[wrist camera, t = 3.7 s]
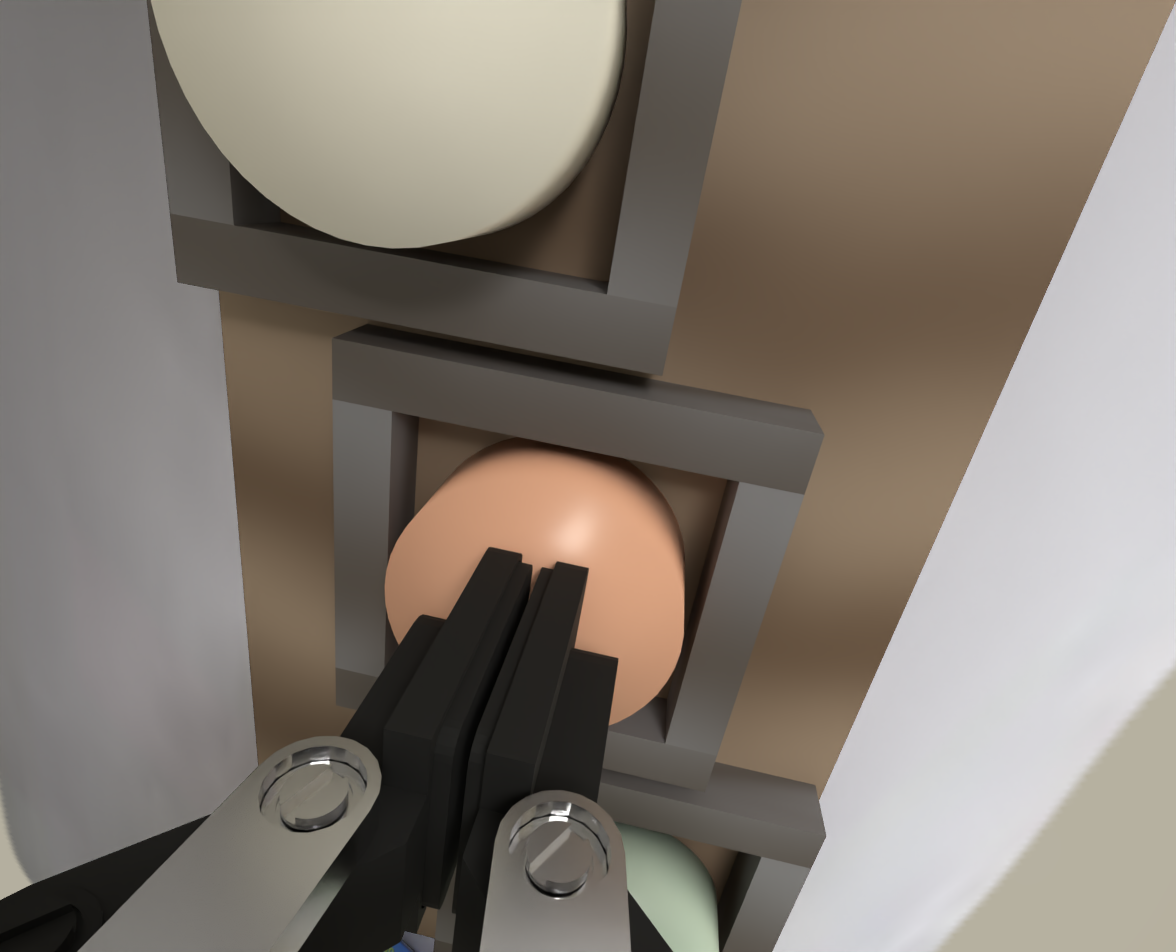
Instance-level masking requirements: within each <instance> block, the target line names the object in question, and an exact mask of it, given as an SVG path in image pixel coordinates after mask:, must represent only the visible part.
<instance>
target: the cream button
mask: <svg viewBox="0 0 1176 952" xmlns="http://www.w3.org/2000/svg"><path fill="white" fill-rule="evenodd" d="M151 4H152V8H153V11H154V15H155V19H156V23H157V27H158V31H159V34H160V37H161V39H162V42H163V45H164V48H165V51H166V53H167V56H168V59H169V62H170V65H171V67H172V69H173V71H174V73H175V75H176V78H177V80H178V82H179V84H180V86H181V88H182V90H183V93H184V95H185V97H186V99H187V100H188V102H189V104H190V105H191V107H192V109H193V111H194V112H195V114H196V116H197V117H198V119H199V121H200V123H201V124H202V126H203V127H204V129H205V130H206V132H207V133H208V134H209V136H210V137H211V138H212V140H213V141H214V143H215V144H216V145H217V147H218V148H219V149H220V151H221V152H222V154H223V155H224V156H225V157H226V158H227V159H228V160H229V161H230V162H231V164H232V165H233V166H234V167H235V168H236V169H237V170H238V171H239V173H240V174H241V175H242V176H243V177H244V178H245V179H246V180H247V181H248V182H250V183H251V184H252V185H253V186H254V187H255V188H256V189H257V190H258V191H259V192H261V193H262V194H263V195H264V196H265V197H266V198H267V199H269V200H270V201H272V202H273V203H274V204H276V205H277V206H279V207H280V208H281V209H283V210H284V211H285V212H287V213H288V214H290V215H291V216H293V217H295V218H297V219H298V220H300V221H302V222H304V223H306V224H307V225H309V226H311V227H313V228H315V229H317V230H320V231H322V232H325V233H327V234H330V235H332V236H334V237H337V238H339V239H343V240H347V241H351V242H355V243H358V244H362V245H366V246H375V247H384V248H419V247H424V246H430V245H435V244H441V243H446V242H451V241H456V240H461V239H466V238H471V237H476V236H481V235H486V234H491V233H494V232H497V231H500V230H503V229H506V228H509V227H512V226H514V225H516V224H518V223H520V222H522V221H524V220H526V219H528V218H530V217H532V216H533V215H535V214H536V213H538V212H539V211H540V210H542V209H543V208H545V207H546V206H547V205H549V204H550V203H552V202H553V201H554V200H555V199H556V198H557V197H558V196H559V195H560V194H561V193H562V192H563V191H564V190H565V189H566V188H568V187H569V185H570V184H571V183H572V182H573V180H574V179H575V178H576V177H577V176H578V174H579V173H580V172H581V171H582V169H583V168H584V167H585V165H586V164H587V162H588V160H589V159H590V157H591V156H592V154H593V152H594V151H595V149H596V148H597V146H598V144H599V142H600V140H601V138H602V136H603V133H604V131H605V129H606V127H607V125H608V123H609V120H610V117H611V114H612V111H613V108H614V105H615V102H616V99H617V96H618V93H619V88H620V83H621V78H622V74H623V69H624V63H625V52H626V42H627V2H626V0H151Z"/></svg>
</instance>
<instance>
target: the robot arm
mask: <svg viewBox="0 0 1176 952" xmlns="http://www.w3.org/2000/svg"><path fill="white" fill-rule="evenodd" d="M532 571H533V565H531V564H527V563H522V553H517V552H513V551H508V550H503V549H499V548H494V547H488V549H487V550H486V552H485V554H484V555H483V557H482V559H481V560H480V562H479V564H478V566H477V567H476V569H475V571H474V573H473V574H472V576H471V578H470V580H469V581H468V583H467V585H466V586H465V588H464V590H463V592H462V593H461V595H460V597H459V599H458V600H457V602H456V604H455V606H454V607H453V609H452V611H451V613H450V614H449V616H448V618H447V619H442V618H438V617H433V616H429V615H424V614H422V615H420V616H419V617H418V618H417V619H416V620H415V622H414V623H413V624H412V626H411V628H410V629H409V631H408V632H407V634H406V635H405V637H404V638H403V640H402V641H401V643H400V644H399V646H398V648H397V649H396V651H395V652H394V654H393V655H392V657H391V658H390V660H389V661H388V663H387V665H386V666H385V668H384V669H383V671H382V672H381V674H380V675H379V677H378V678H377V680H376V681H375V683H374V685H373V686H372V688H371V689H370V691H369V692H368V694H367V695H366V697H365V698H364V700H363V701H362V703H361V705H360V706H359V708H358V709H357V711H356V712H355V714H354V715H353V717H352V718H351V720H350V721H349V723H348V725H347V726H346V728H345V729H344V731H343V732H342V734H341V735H340V737H338V736H316V737H312V738H308V739H304V740H300V741H296V742H294V743H292V744H290V745H288V746H286V747H284V748H282V749H280V750H278V751H276V752H275V753H274V754H272V755H271V756H270V757H269V758H268V759H266V760H265V761H264V762H263V763H261V764H260V765H259V766H258V767H257V768H256V769H255V770H254V771H253V772H252V773H251V774H250V775H249V776H248V777H247V778H246V779H245V781H244V782H243V783H242V784H241V785H240V786H239V787H238V788H237V789H236V790H235V791H234V792H233V793H232V794H231V795H230V796H229V797H228V798H227V799H226V800H225V801H224V802H223V803H222V804H221V805H220V806H219V807H218V808H217V809H216V810H215V811H214V812H213V813H212V814H210V815H208V816H205V817H203V818H200V819H197V820H195V821H192V822H190V823H187V824H185V825H182V826H180V827H177V828H175V829H172V830H169V831H167V832H164V833H162V834H159V835H157V836H154V837H152V838H149V839H147V840H144V841H141V842H139V843H136V844H134V845H131V846H129V847H126V848H124V849H121V850H119V851H116V852H113V853H111V854H108V855H106V856H103V857H101V858H98V859H96V860H93V861H91V862H88V863H85V864H83V865H80V866H78V867H75V868H73V869H70V870H68V871H65V872H63V873H60V874H57V875H55V876H52V877H50V878H47V879H45V880H42V881H40V882H37V883H35V884H32V885H30V886H28V887H26V888H24V889H22V890H20V891H18V892H16V893H14V894H12V895H10V896H8V897H6V898H4V899H2V900H0V952H384V951H386V950H388V949H389V948H391V947H393V946H394V945H396V944H398V943H400V942H401V939H402V937H403V934H404V932H405V931H407V932H411V933H415V934H417V932H418V929H419V926H420V924H421V921H422V918H423V915H424V913H425V910H426V907H430V908H434V909H438V910H440V908H441V906H442V904H443V902H444V899H445V897H446V894H447V891H448V888H449V885H450V882H451V879H452V877H453V874H454V871H455V868H456V876H455V885H454V894H453V903H452V913H453V914H456V918H455V926H454V935H453V944H452V952H673V951H672V949H671V948H670V947H669V945H668V944H667V943H666V941H665V940H664V939H663V937H662V936H661V934H660V933H659V932H658V930H657V929H656V928H655V926H654V925H653V924H652V922H651V921H650V919H649V918H648V917H647V915H646V914H645V913H644V911H643V910H642V909H641V907H640V906H639V904H638V903H637V902H636V900H635V899H634V898H633V896H632V895H631V894H630V892H629V891H628V889H627V875H626V858H625V850H624V845H623V841H622V836H621V833H620V832H619V830H618V828H617V826H616V825H615V823H614V821H613V819H612V817H611V816H610V815H608V814H607V813H606V812H605V811H604V810H603V809H602V808H601V807H600V806H599V805H598V804H597V799H598V793H599V786H600V780H601V773H602V766H603V760H604V753H605V747H606V740H607V733H608V727H609V720H610V714H611V707H612V701H613V694H614V687H615V681H616V674H617V668H618V658H616V657H612V656H607V655H603V654H598V653H594V652H589V651H585V650H580V649H576V648H575V642H576V637H577V631H578V626H579V621H580V615H581V610H582V605H583V599H584V594H585V589H586V583H587V578H588V573H589V568H587V567H582V566H578V565H573V564H568V563H564V562H559V561H557V562H556V564H555V566H554V569H550V568H545V567H542V568H541V570H540V573H539V575H538V578H537V580H536V583H535V585H534V588H533V590H532V593H531V595H530V598H529V592H530V585H531V578H532ZM528 599H529V600H528ZM456 865H457V867H456Z"/></svg>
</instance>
